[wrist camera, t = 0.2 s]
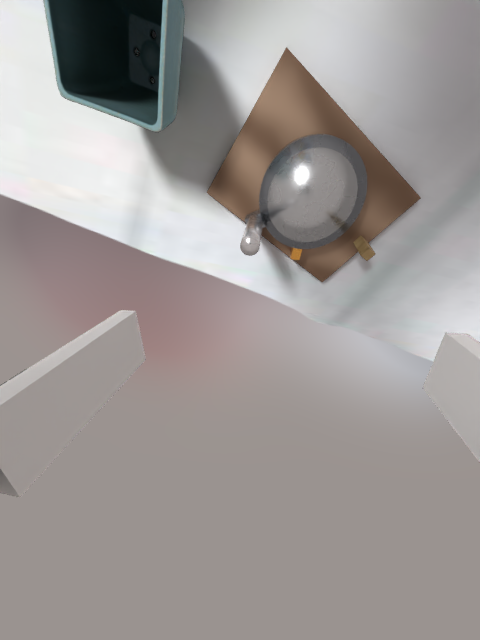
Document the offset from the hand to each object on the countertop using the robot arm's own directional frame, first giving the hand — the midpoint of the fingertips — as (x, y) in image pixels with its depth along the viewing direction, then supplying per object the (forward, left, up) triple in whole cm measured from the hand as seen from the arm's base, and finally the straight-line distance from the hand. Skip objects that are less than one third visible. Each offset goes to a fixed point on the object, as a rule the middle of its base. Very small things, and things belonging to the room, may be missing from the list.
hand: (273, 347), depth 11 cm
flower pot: (-2, -18, -27) cm, 33 cm away
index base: (-2, +3, -27) cm, 27 cm away
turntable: (-1, +3, -25) cm, 26 cm away
